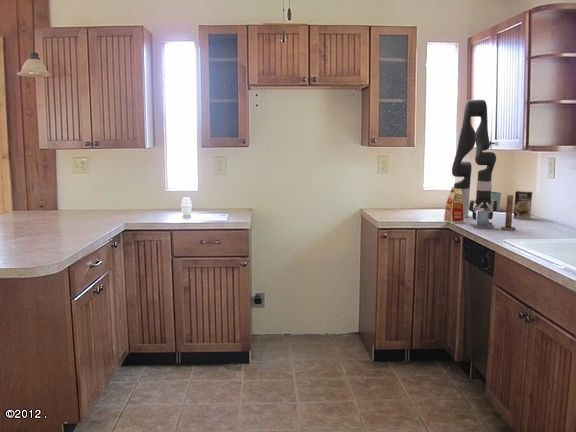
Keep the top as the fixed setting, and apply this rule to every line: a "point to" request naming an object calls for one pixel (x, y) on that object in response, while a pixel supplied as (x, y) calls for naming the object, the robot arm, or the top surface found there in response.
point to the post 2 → (509, 214)
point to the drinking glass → (496, 197)
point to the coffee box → (522, 205)
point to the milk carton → (455, 207)
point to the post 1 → (488, 217)
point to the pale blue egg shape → (482, 218)
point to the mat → (481, 226)
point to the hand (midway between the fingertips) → (482, 219)
